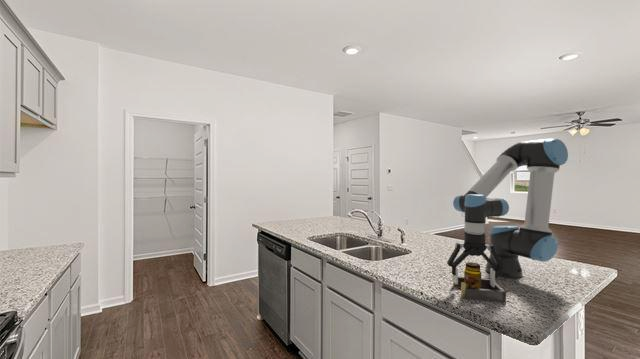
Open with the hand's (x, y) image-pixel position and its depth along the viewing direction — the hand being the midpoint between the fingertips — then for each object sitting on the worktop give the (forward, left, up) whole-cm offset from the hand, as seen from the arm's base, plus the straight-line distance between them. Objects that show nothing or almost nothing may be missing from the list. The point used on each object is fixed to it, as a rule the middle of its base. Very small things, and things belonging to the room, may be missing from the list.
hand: (474, 284), depth 116 cm
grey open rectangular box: (-1, 0, -3) cm, 4 cm away
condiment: (0, -1, -4) cm, 4 cm away
